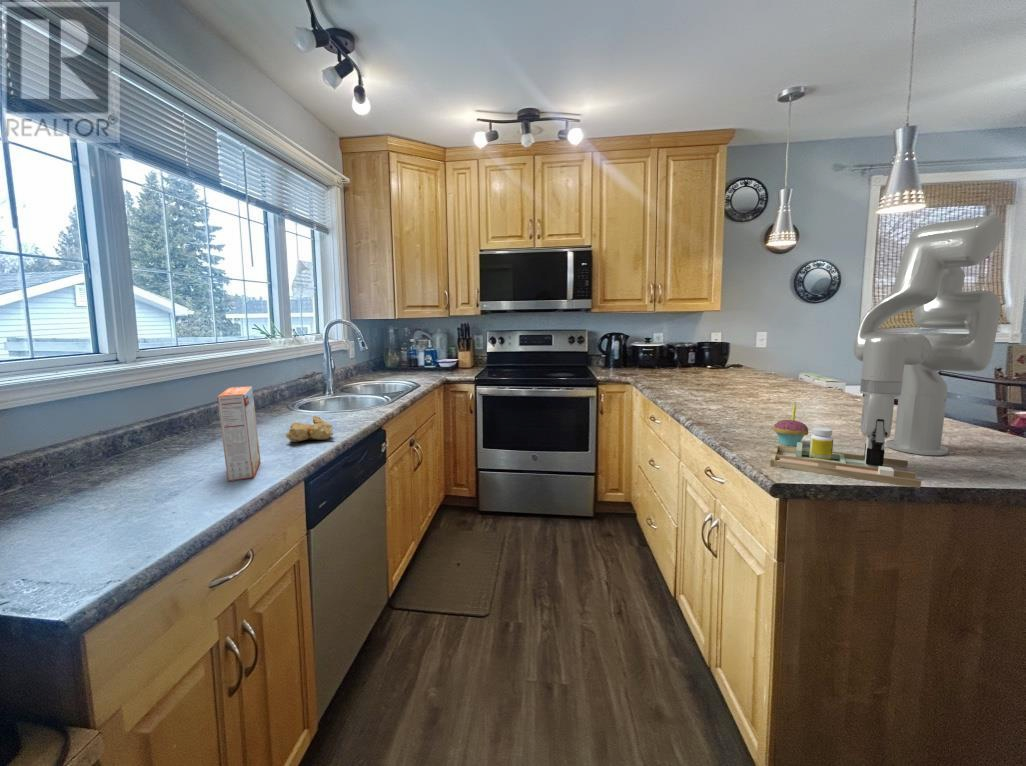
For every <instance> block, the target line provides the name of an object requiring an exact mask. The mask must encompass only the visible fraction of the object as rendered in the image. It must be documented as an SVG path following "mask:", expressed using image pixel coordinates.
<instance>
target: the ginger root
mask: <svg viewBox="0 0 1026 766" xmlns="http://www.w3.org/2000/svg"><path fill="white" fill-rule="evenodd" d="M312 423H313V424H310V423H309V424H308V423H306V424H305V423H302V422H292V423H291V425H290V428H289V430H288V431H287V432H286V434H285V438H287V439H288V440H289V441H290V442H293V443H300V442H302V441H305V440H306V441H308V440H314V441H315V440H319V441H321V440H322V441H323V440H329V438H330V437H331V436H333V435H334V432H333V430H334V428H333V426H332V424H330V423H328V422H327V421H325V420H324V419H322V418H321V417H320V416H317V415H313V416H312Z"/></svg>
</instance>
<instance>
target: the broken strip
mask: <svg viewBox="0 0 1026 766" xmlns="http://www.w3.org/2000/svg"><path fill="white" fill-rule="evenodd" d="M780 461H784V462H791V463H798V464H806V465H813V466H818V463H814V462H806V461H799V460H791V459H784V458H780ZM836 469H842V470H849V471H857V472H864V473H871V474H878V475H886V476H894V470H895V469H893V467H890V466H889V467H888V466H884V465H883V466H878V471H873V470H866V469H858V468H851V467H843V466H836Z"/></svg>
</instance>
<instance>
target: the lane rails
mask: <svg viewBox="0 0 1026 766" xmlns="http://www.w3.org/2000/svg"><path fill="white" fill-rule="evenodd" d="M796 448H797V446H786V445H782V444H781V445H780V444H775V445H774V447H773V451H772V454H771V458H770V461H769V462H770V463H769V464H770V465H771V466H770V465H769V466H770V467H772V466H779V467H785V468H784V469H786V468H790V469H789V470H793V469H795V470H794V471H800V470H801V471H802V472H808V473H815V474H821V475H829V476H836V477H843V478H849V479H856V480H864V481H870V482H871V481H872V482H875V483H876V482H878V483H883V484H890V485H897V486H898V485H899V486H904V487H905V486H906V487H912V488H918V489H920V488H921V486H922V480H921V479H916V477H917V473H916V472H913V471H904V470H898V469H893V470H894V476H886V475H878V474H871V473H864V472H857V471H849V470H842V469H836V466H843V467H851V468H858V469H866V470H873V471H878V468H876V467H868V466H861V465H853V464H845V463H838V462H830V461H823V460H815V459H807V458H800V457H796V456H792V455H791V456H790V455H784V454H778V453H777V452H779V451H778V450H781V451H780V452H783V451H789V452H788V453H790V452H794V453H793V454H796ZM802 449H804V450H810V448H806V447H805V448H804V447H802ZM832 453H837V454H844V457H845V458H846V459H854V460H862V461H865V459H864V454H855V453H846V452H840V451H839V452H838V451H832ZM780 458H784V459H791V460H799V461H806V462H814V463H818V466H813V465H806V464H798V463H791V462H784V461H777V460H780ZM883 465H884V466H885V465H886V466H892V467H893V466H894V467H902V468H908V465H909V461H908V460H904V459H897V458H888V457H887V458H886V457H884V461H883ZM779 467H778V468H779Z"/></svg>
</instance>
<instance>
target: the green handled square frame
mask: <svg viewBox="0 0 1026 766" xmlns="http://www.w3.org/2000/svg"><path fill="white" fill-rule="evenodd" d="M866 440H867V441H866V443H865V444H866V451H865V450H864V453H865V461H862V460H854V459H846V458H845V457H844V454H837V453H832V461H831V460H823V459H816V458H809V452H810V450H804V449H802V448H803V442H802V441H801V442H797V446H796V447H797V448H796V453H795V457H800V458H807V459H815V460H823V461H830V462H838V463H845V464H853V465H861V466H868V467H876V468H878V466H873V465H867V464H866V453H867V448H869V437H867V436H866ZM874 440H875V439H874ZM806 456H808V457H806ZM834 459H835V460H834Z"/></svg>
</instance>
